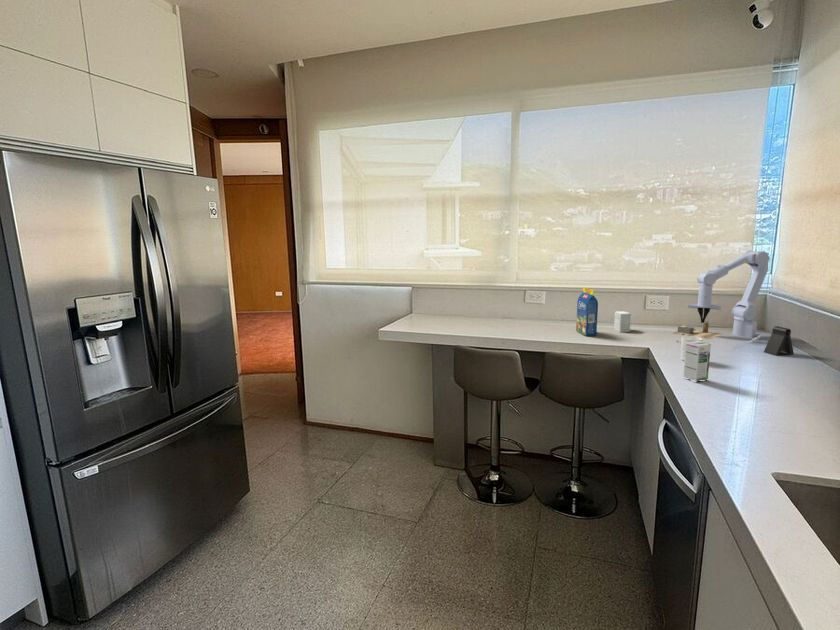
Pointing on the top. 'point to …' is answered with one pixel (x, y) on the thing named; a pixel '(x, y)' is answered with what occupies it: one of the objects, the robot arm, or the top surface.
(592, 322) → the blue food package
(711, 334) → the plywood board
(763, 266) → the robot arm
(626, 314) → the small box
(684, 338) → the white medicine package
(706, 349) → the syrup box
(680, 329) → the block
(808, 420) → the top surface
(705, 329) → the grey-capped wooden dowel
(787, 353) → the phone stand
